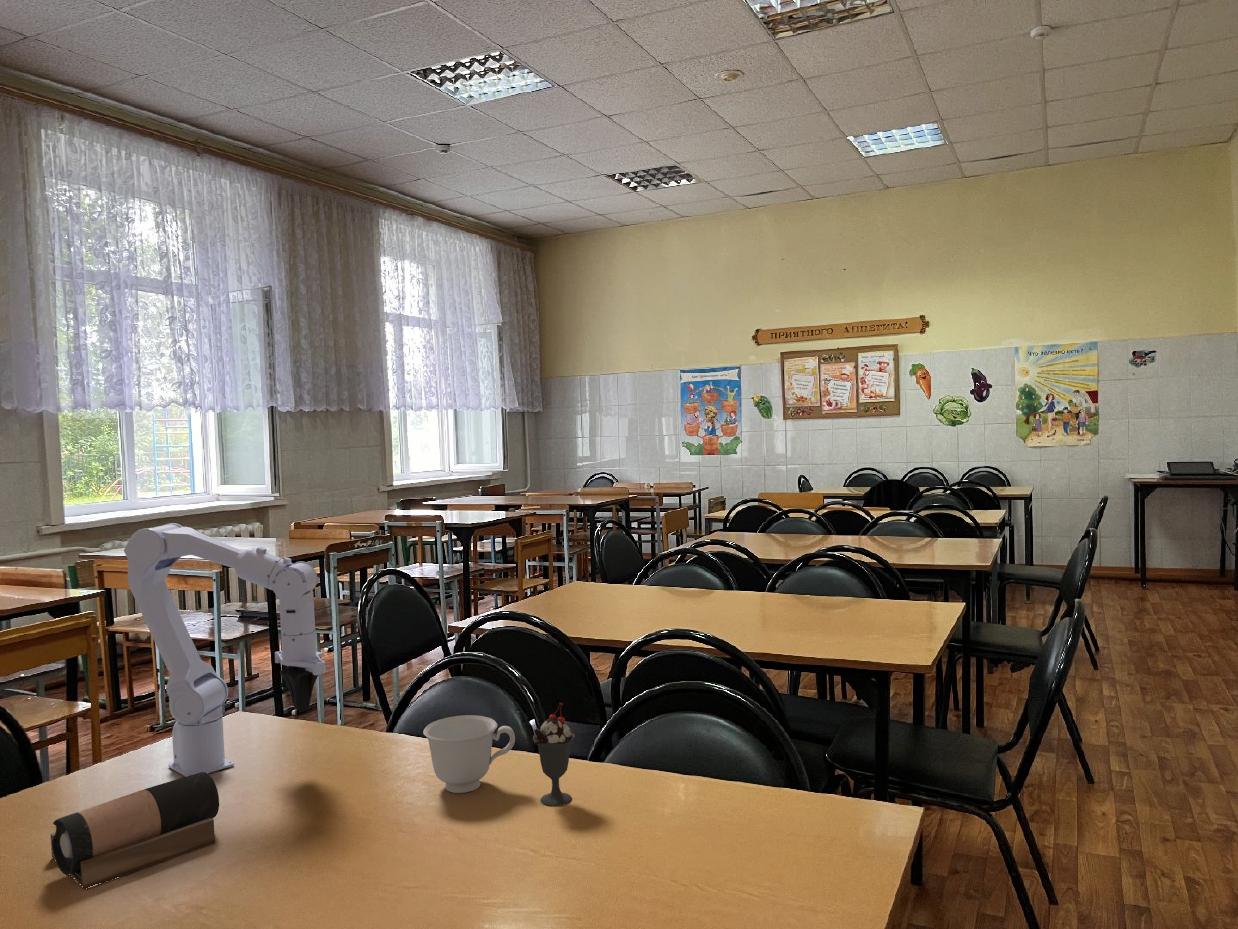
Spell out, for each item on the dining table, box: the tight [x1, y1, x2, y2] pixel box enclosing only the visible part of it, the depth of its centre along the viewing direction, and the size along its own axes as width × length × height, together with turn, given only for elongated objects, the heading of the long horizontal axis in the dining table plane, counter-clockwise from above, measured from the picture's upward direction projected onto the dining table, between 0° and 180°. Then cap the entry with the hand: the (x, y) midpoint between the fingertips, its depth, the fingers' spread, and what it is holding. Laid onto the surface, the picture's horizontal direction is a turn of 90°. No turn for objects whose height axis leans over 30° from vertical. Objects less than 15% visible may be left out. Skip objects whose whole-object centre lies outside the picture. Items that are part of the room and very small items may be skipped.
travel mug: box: [52, 772, 220, 876], centre depth 128 cm, size 8×8×20 cm
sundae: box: [532, 702, 576, 807], centre depth 142 cm, size 7×7×15 cm
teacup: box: [422, 714, 516, 794], centre depth 148 cm, size 12×15×10 cm
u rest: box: [50, 818, 216, 890], centre depth 129 cm, size 14×17×4 cm
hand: (301, 708), depth 160 cm, fingers closed
